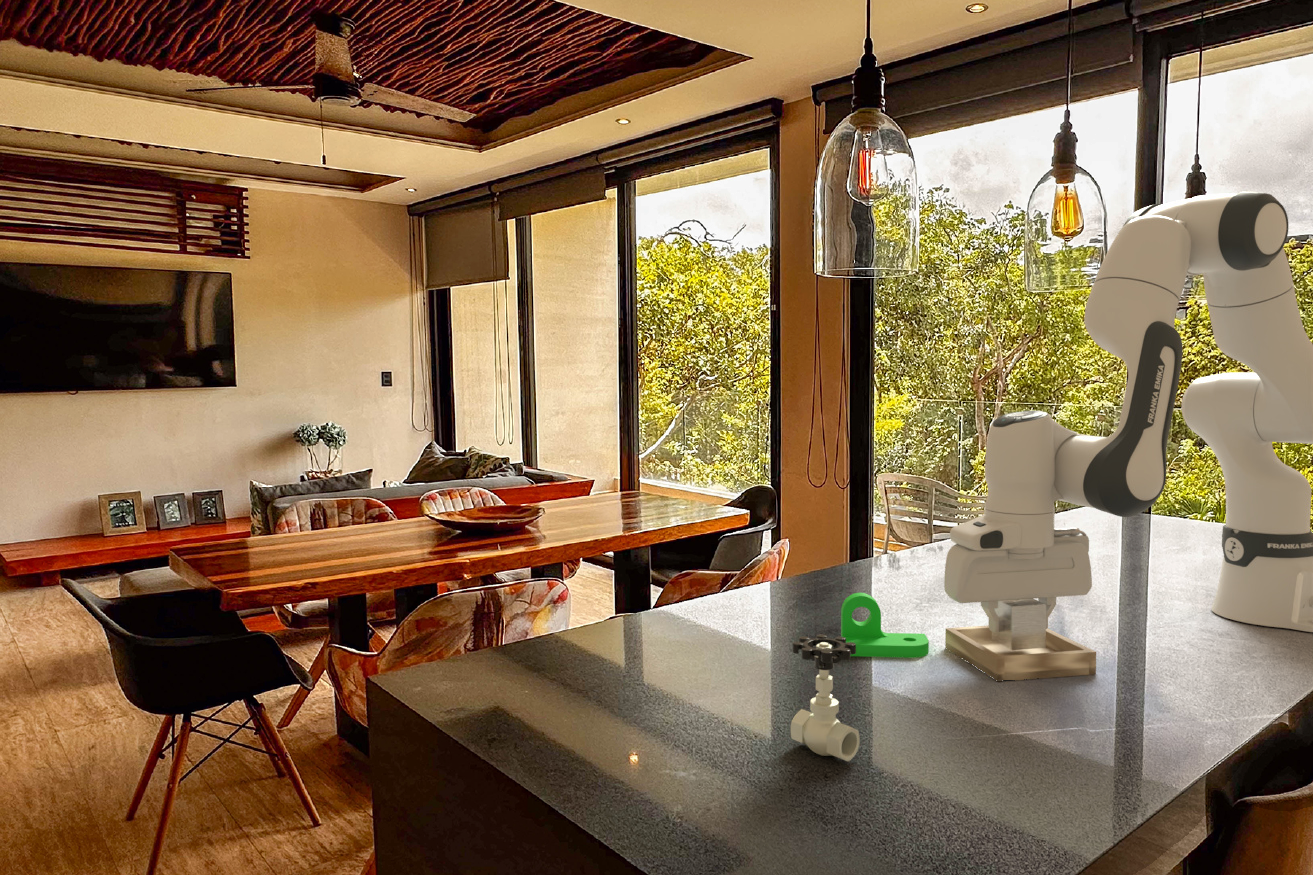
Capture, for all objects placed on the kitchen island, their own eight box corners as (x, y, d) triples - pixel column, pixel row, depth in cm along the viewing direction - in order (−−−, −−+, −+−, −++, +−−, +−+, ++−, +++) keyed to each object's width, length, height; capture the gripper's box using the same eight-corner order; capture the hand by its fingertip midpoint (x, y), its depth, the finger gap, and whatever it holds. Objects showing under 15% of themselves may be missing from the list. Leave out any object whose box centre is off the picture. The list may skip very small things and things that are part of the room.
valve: (820, 735, 99) (819, 630, 98) (869, 754, 94) (869, 643, 93) (780, 752, 95) (779, 642, 94) (829, 773, 90) (828, 657, 89)
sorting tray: (1034, 642, 131) (1034, 622, 131) (1095, 673, 117) (1096, 651, 117) (945, 648, 129) (945, 628, 128) (997, 681, 115) (997, 659, 115)
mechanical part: (844, 658, 126) (844, 602, 125) (841, 645, 132) (841, 592, 131) (932, 660, 124) (932, 604, 124) (924, 646, 130) (924, 593, 130)
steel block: (1024, 636, 125) (1025, 594, 125) (1045, 647, 121) (1046, 604, 120) (991, 639, 125) (992, 597, 124) (1011, 650, 120) (1011, 606, 119)
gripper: (1074, 522, 126) (1072, 618, 127) (939, 529, 123) (938, 627, 124) (1103, 530, 120) (1101, 631, 121) (961, 538, 117) (961, 641, 118)
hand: (1017, 629), depth 123 cm, fingers closed on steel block, 5 cm apart
